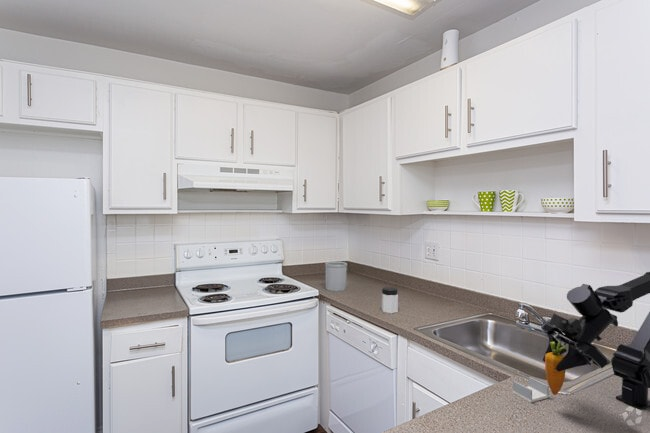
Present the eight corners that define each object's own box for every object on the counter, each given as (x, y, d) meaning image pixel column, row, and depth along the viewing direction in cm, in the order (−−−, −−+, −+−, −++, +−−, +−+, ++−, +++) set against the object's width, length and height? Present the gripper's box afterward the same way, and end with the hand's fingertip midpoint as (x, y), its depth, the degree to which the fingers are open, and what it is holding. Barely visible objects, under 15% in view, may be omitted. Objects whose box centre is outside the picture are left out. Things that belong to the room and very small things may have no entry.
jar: (380, 308, 199) (380, 286, 199) (395, 308, 200) (395, 286, 199) (383, 313, 190) (383, 290, 190) (399, 313, 191) (399, 290, 190)
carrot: (557, 390, 103) (558, 337, 102) (569, 399, 98) (571, 344, 97) (540, 390, 103) (541, 337, 102) (551, 399, 98) (552, 344, 97)
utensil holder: (349, 290, 242) (350, 264, 241) (328, 291, 237) (328, 265, 237) (342, 286, 256) (343, 261, 255) (322, 287, 252) (322, 261, 251)
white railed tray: (530, 388, 112) (530, 377, 112) (548, 397, 107) (548, 386, 107) (512, 392, 110) (512, 381, 109) (530, 402, 104) (530, 390, 104)
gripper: (548, 296, 109) (511, 333, 109) (597, 315, 90) (552, 359, 90) (573, 322, 110) (536, 359, 109) (627, 346, 91) (582, 390, 91)
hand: (550, 365), depth 100 cm, fingers closed on carrot, 5 cm apart
